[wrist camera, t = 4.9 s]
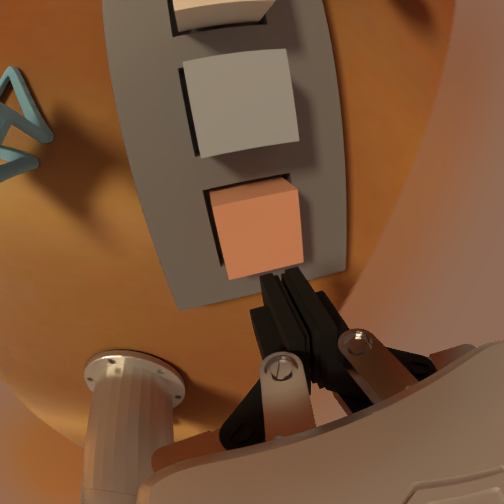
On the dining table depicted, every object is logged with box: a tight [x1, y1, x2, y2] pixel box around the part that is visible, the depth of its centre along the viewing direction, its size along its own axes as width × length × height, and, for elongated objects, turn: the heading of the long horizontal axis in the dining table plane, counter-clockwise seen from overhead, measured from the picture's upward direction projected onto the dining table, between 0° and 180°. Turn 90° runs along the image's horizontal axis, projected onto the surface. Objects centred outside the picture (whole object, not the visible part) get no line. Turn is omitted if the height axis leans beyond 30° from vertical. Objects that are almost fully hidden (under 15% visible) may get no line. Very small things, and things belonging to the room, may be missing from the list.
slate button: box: [183, 49, 299, 158], centre depth 14 cm, size 5×5×4 cm
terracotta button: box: [209, 175, 304, 280], centre depth 18 cm, size 5×5×4 cm
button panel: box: [102, 0, 347, 311], centre depth 16 cm, size 28×14×3 cm, turn 9°
